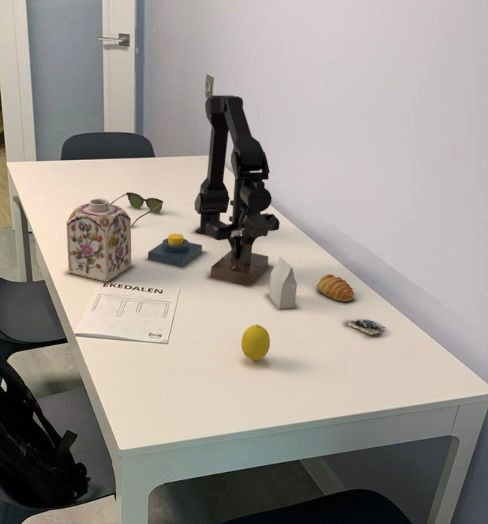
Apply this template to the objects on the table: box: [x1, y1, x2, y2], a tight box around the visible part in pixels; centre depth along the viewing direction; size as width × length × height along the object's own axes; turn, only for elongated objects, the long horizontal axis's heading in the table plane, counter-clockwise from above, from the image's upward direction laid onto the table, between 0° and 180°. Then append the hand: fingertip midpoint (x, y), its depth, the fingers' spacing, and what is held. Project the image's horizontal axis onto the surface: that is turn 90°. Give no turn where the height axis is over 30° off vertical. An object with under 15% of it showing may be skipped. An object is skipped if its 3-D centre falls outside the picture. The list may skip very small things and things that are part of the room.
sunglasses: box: [109, 191, 164, 228], centre depth 205 cm, size 14×15×5 cm
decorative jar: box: [66, 198, 132, 283], centre depth 165 cm, size 12×12×18 cm
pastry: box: [316, 273, 355, 302], centre depth 161 cm, size 9×7×4 cm
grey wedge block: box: [268, 256, 298, 310], centre depth 155 cm, size 4×7×10 cm, turn 16°
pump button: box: [167, 233, 184, 245], centre depth 177 cm, size 4×4×2 cm
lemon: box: [240, 324, 271, 362], centre depth 131 cm, size 6×6×8 cm
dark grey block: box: [230, 240, 253, 266], centre depth 169 cm, size 6×2×5 cm, turn 31°
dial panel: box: [210, 250, 269, 287], centre depth 170 cm, size 14×10×3 cm
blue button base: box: [147, 237, 203, 268], centre depth 178 cm, size 12×10×4 cm
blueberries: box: [347, 319, 387, 335], centre depth 146 cm, size 7×8×2 cm
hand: (240, 258), depth 170 cm, fingers closed on dark grey block, 2 cm apart
